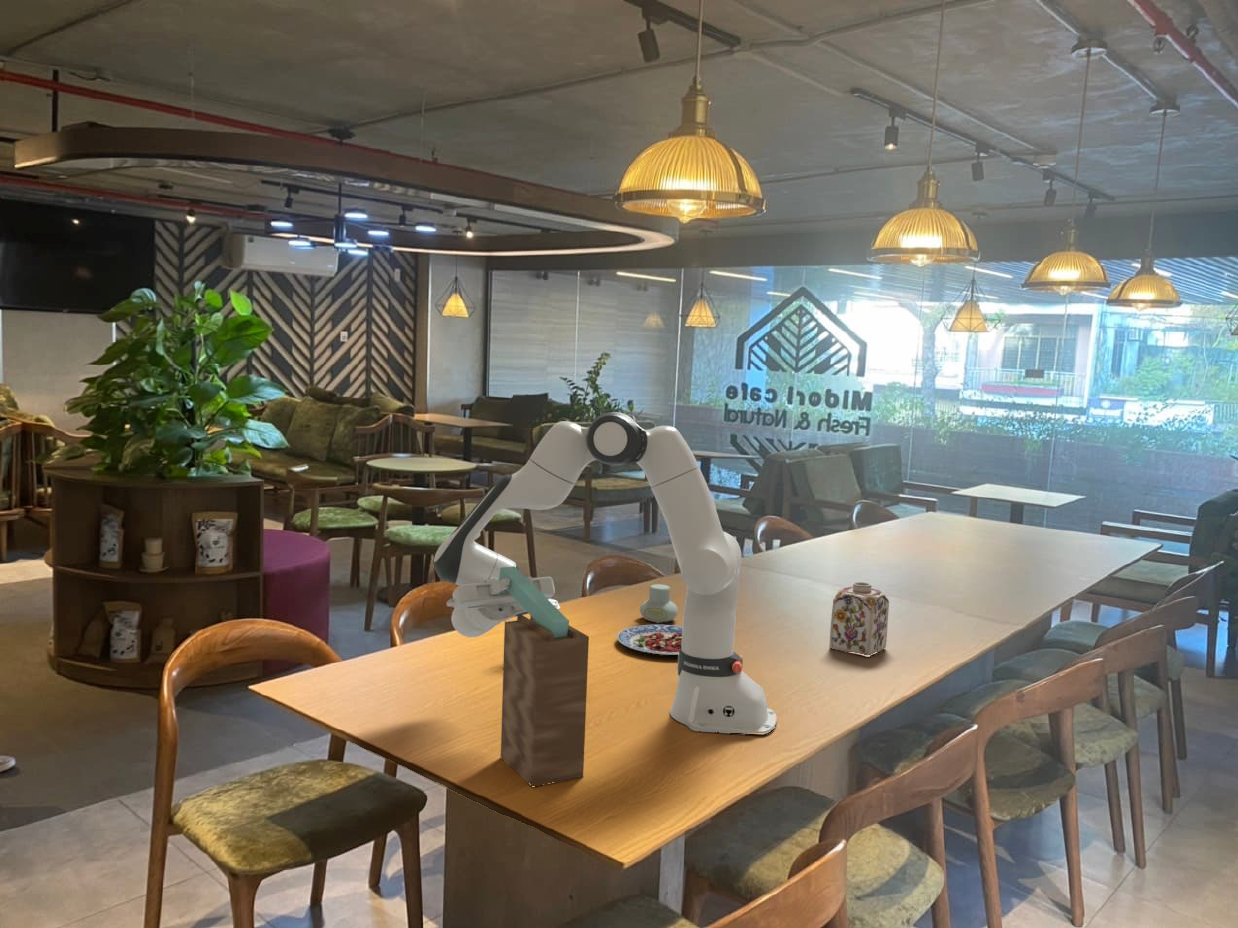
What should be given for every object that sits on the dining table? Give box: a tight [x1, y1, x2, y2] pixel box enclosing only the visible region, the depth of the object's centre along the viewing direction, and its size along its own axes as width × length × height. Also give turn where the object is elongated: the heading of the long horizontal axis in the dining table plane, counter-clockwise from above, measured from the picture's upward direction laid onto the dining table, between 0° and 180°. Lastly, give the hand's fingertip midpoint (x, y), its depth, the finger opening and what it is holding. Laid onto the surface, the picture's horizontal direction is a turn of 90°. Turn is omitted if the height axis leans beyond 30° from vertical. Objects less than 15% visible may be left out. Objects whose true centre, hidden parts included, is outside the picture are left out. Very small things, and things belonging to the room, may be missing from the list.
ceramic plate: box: [616, 624, 682, 656], centre depth 254 cm, size 26×26×3 cm
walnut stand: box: [500, 614, 590, 786], centre depth 175 cm, size 14×10×27 cm
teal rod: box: [499, 566, 570, 638], centre depth 179 cm, size 24×3×3 cm, turn 31°
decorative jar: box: [828, 581, 890, 655], centre depth 258 cm, size 12×12×18 cm
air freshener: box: [639, 583, 679, 624], centre depth 278 cm, size 11×8×10 cm
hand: (518, 581), depth 184 cm, fingers open, 3 cm apart
